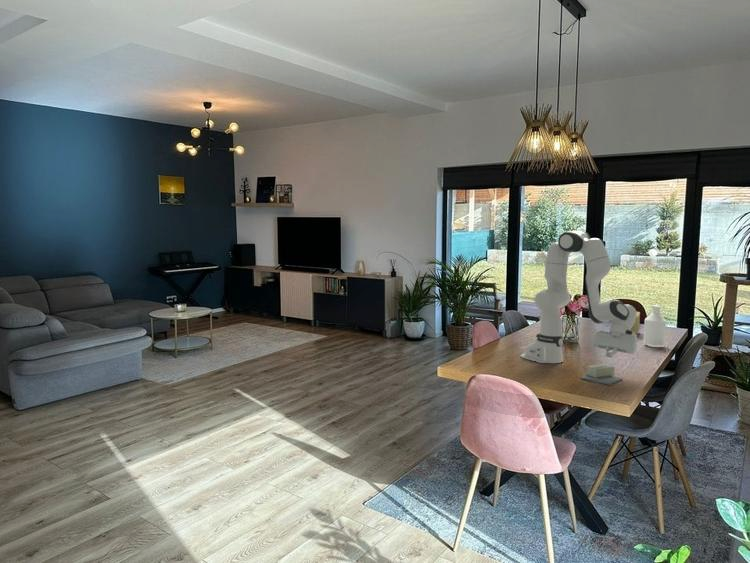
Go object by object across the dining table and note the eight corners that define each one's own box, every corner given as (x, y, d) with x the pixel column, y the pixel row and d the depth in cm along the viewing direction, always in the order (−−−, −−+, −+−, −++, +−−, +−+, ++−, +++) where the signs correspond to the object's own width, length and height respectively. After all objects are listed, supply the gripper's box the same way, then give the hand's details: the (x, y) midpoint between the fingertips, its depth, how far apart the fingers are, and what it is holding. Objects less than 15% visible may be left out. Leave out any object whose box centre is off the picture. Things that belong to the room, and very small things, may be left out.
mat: (580, 378, 257) (580, 377, 257) (593, 373, 266) (594, 372, 266) (609, 385, 246) (609, 383, 246) (622, 380, 256) (622, 378, 256)
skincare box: (604, 372, 266) (585, 374, 261) (604, 363, 266) (586, 365, 261) (614, 375, 261) (596, 378, 256) (615, 366, 260) (596, 369, 255)
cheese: (630, 331, 379) (631, 310, 378) (645, 333, 373) (646, 312, 371) (620, 336, 362) (622, 314, 361) (636, 338, 356) (638, 315, 354)
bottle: (659, 344, 339) (662, 304, 336) (667, 348, 327) (670, 307, 324) (639, 343, 340) (642, 304, 337) (647, 347, 328) (650, 306, 325)
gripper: (596, 326, 271) (585, 348, 265) (638, 333, 256) (628, 356, 250) (599, 334, 274) (589, 356, 269) (641, 341, 259) (631, 364, 254)
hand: (608, 356), depth 259 cm, fingers closed
